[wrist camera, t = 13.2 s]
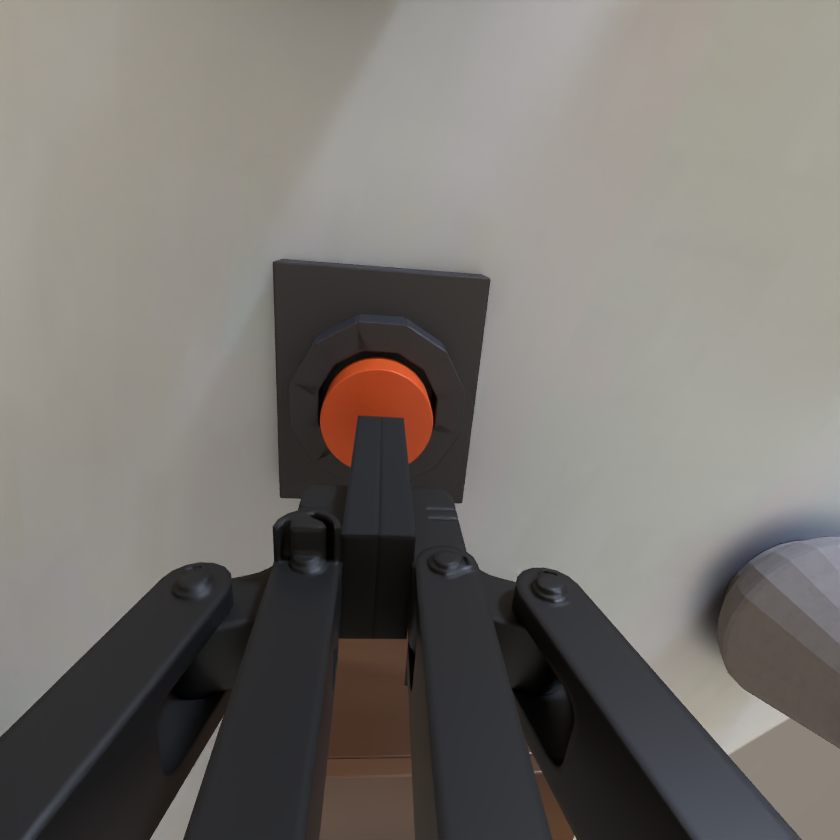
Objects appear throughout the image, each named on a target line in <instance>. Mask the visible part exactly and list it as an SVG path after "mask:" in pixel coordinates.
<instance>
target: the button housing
mask: <svg viewBox="0 0 840 840" xmlns="http://www.w3.org/2000/svg"><path fill="white" fill-rule="evenodd" d="M273 282H274V316H275V349H276V383H277V416H278V450H279V483H280V498H300V499H301V498H302V495H303V493H304V492H305V491H307V490H308V489H309V488H310V487H311V486H312V485H313V484H319V485H347V486H348V482H349V475H350V468H351V467H349V466H347V465H345V464H344V463H342V462H341V461H340V460H339V459H337V458H336V457H335V456H334V455H333V454H332V453H331V451H330V450H329V448H328V447H327V445H326V443H325V441H324V439H323V436H322V433H321V428H320V413H321V409H322V405H323V402H324V399H325V396H326V393H327V391H328V388H329V385H330V384H331V382H332V380H333V379H334V377H335V376H336V375H337V374H338V373H339V372H340V371H341V370H342V369H343V368H344V367H346V366H347V365H349V364H350V363H352V362H354V361H357V360H359V359H363V358H367V357H386V358H391V359H394V360H397V361H399V362H401V363H403V364H405V365H407V366H408V367H409V368H411V369H412V370H413V371H414V372H415V373H416V374H417V375H418V376H419V378H420V379H421V380H422V382H423V384H424V386H425V388H426V391H427V394H428V398H429V402H430V405H431V409H432V414H433V428H432V433H431V437H430V440H429V442H428V444H427V446H426V447H425V449H424V450H423V452H422V453H421V454H420V455H419V456H418V457H417V458H416V459H415V460H414V461H412V462H411V463H410V464H409V473H410V483H411V486H412V487H440V488H444V489H445V490H446V491H447V492H448V493H449V494H450V495H451V496H452V497H453V501H454V503H462V499H463V491H464V484H465V476H466V468H467V460H468V452H469V444H470V436H471V428H472V420H473V413H474V405H475V397H476V389H477V381H478V373H479V365H480V357H481V349H482V342H483V334H484V326H485V318H486V310H487V302H488V294H489V286H490V278H488V277H486V276H484V275H481V274H468V273H455V272H442V271H429V270H416V269H403V268H390V267H377V266H364V265H351V264H339V263H326V262H313V261H300V260H287V259H281V260H278V261H275V262H273Z"/></svg>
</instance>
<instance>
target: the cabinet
mask: <svg viewBox="0 0 840 840" xmlns="http://www.w3.org/2000/svg"><path fill="white" fill-rule="evenodd" d="M407 648H408V630H407V639H339V641H338V665H337V674H336V684H335V694H334V703H333V713H332V722H331V732H330V741H329V751H328V761H327V770H326V780H325V789H324V799H323V808H322V818H321V828H320V837H319V840H415V830H414V808H413V787H412V766H411V745H410V724H409V702H408V686H404V680H405V669H406V659H407ZM526 744H527V742H526ZM527 747H528V751H529V755H530V758H531V762H532V766H533V769H534V773H535V777H536V780H537V784H538V788H539V791H540V795H541V799H542V802H543V806H544V810H545V813H546V817H547V821H548V824H549V828H550V832H551V835H552V839H553V840H573V838H574V833H573V831H572V829H571V827H570V825H569V824H568V822H567V820H566V818H565V816H564V814H563V812H562V810H561V808H560V806H559V804H558V802H557V800H556V798H555V796H554V794H553V793H552V791H551V789H550V787H549V785H548V783H547V781H546V779H545V777H544V775H543V773H542V771H541V769H540V767H539V765H538V763H537V762H536V760H535V758H534V756H533V754H532V752H531V750H530V748H529V746H528V744H527Z"/></svg>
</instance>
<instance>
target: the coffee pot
mask: <svg viewBox="0 0 840 840" xmlns="http://www.w3.org/2000/svg"><path fill="white" fill-rule="evenodd" d="M717 640H718V644H719V649H720V653H721V656H722V658H723V661H724V664H725V667H726V669H727V671H728V673H729V674H730V675H731V676H732V677H733V679H734V680H735V681H736V682H737V683H738V684H739V685H740V686H741V687H742V688H743V689H744V690H746V691H748V692H749V693H751V694H752V695H754V696H756V697H757V698H759V699H761V700H762V701H764V702H765V703H767V704H769V705H770V706H772V707H773V708H775V709H777V710H778V711H780V712H782V713H783V714H785V715H786V716H788V717H790V718H791V719H793V720H795V721H796V722H798V723H799V724H801V725H803V726H804V727H806V728H807V729H809V730H811V731H813V732H814V733H815V734H817V735H819V736H821V737H822V738H824V739H825V740H827V741H828V742H830V743H832V744H833V745H835V746H836V747H838V748H840V537H820V538H813V539H808V540H804V541H793V542H789V543H784V544H780V545H778V546H775V547H773V548H771V549H768V550H766V551H764V552H762V553H761V554H759V555H758V556H756V557H755V558H753V559H752V560H750V561H749V562H748V563H747V564H746V565H745V566H744V567H743V568H742V569H741V570H740V571H739V572H738V573H737V574H736V575H735V577H734V578H733V580H732V581H731V583H730V584H729V586H728V588H727V591H726V593H725V596H724V599H723V605H722V608H721V611H720V615H719V619H718V634H717Z"/></svg>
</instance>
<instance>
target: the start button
mask: <svg viewBox="0 0 840 840" xmlns="http://www.w3.org/2000/svg"><path fill="white" fill-rule="evenodd" d="M358 416H378V417H398V418H404V424H405V434H406V443H407V453H408V463H409V464H410V463H411V462H412V461H414V460H415V459H416V458H417V457H418V456H419V455H420V454H421V453H422V452H423V450H424V449H425V447H426V446H427V444H428V442H429V440H430V437H431V433H432V428H433V414H432V409H431V405H430V402H429V398H428V394H427V391H426V388H425V386H424V384H423V382H422V380H421V379H420V378H419V376H418V375H417V374H416V373H415V372H414V371H413V370H412V369H411V368H409V367H408V366H407V365H405V364H403V363H401V362H399V361H397V360H394V359H391V358H386V357H367V358H363V359H359V360H357V361H354V362H352V363H350V364H349V365H347V366H346V367H344V368H343V369H342V370H341V371H340V372H339V373H338V374H337V375H336V376H335V377H334V379H333V380H332V382H331V384H330V385H329V388H328V391H327V393H326V396H325V399H324V402H323V405H322V409H321V413H320V428H321V433H322V436H323V439H324V441H325V443H326V445H327V447H328V448H329V450H330V451H331V453H332V454H333V455H334V456H335V457H336V458H337V459H339V460H340V461H341V462H342V463H344V464H345V465H347V466H349V467H351V461H352V454H353V447H354V440H355V433H356V426H357V419H358Z"/></svg>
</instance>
